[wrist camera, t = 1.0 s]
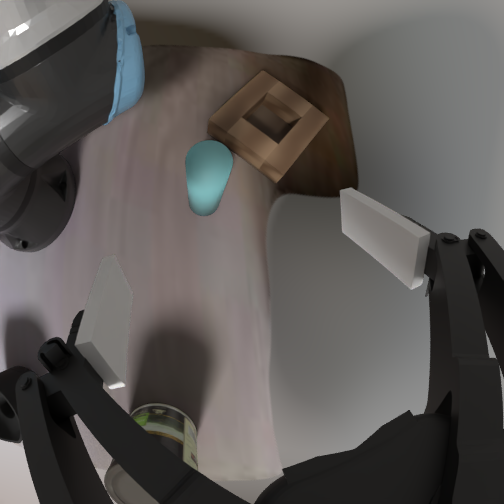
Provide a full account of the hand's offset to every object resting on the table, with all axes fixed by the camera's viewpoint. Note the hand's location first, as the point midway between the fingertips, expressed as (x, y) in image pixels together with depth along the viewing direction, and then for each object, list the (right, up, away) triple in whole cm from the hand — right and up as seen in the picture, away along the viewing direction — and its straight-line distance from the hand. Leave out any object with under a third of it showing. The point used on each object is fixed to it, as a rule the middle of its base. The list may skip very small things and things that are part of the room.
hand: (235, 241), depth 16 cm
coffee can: (-12, -26, +18) cm, 34 cm away
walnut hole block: (+3, +17, +24) cm, 29 cm away
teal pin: (-5, +6, +21) cm, 23 cm away
